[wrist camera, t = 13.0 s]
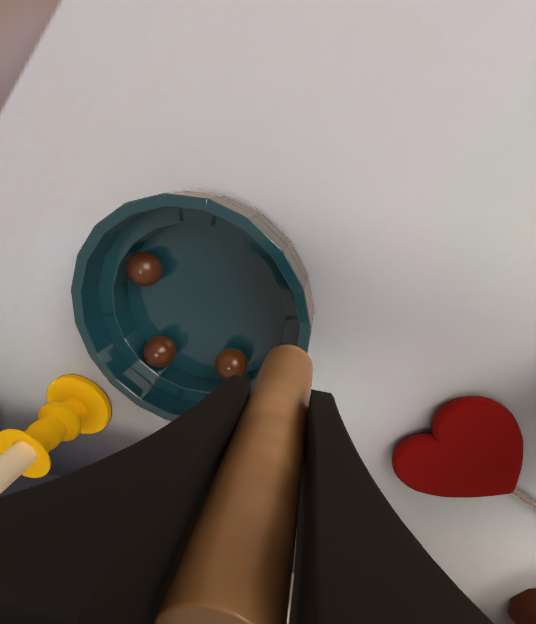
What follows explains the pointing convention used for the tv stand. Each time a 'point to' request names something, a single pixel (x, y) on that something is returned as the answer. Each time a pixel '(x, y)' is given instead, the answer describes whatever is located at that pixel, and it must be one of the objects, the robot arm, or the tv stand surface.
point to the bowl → (188, 295)
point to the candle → (53, 427)
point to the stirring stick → (249, 508)
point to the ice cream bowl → (523, 608)
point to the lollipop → (464, 452)
